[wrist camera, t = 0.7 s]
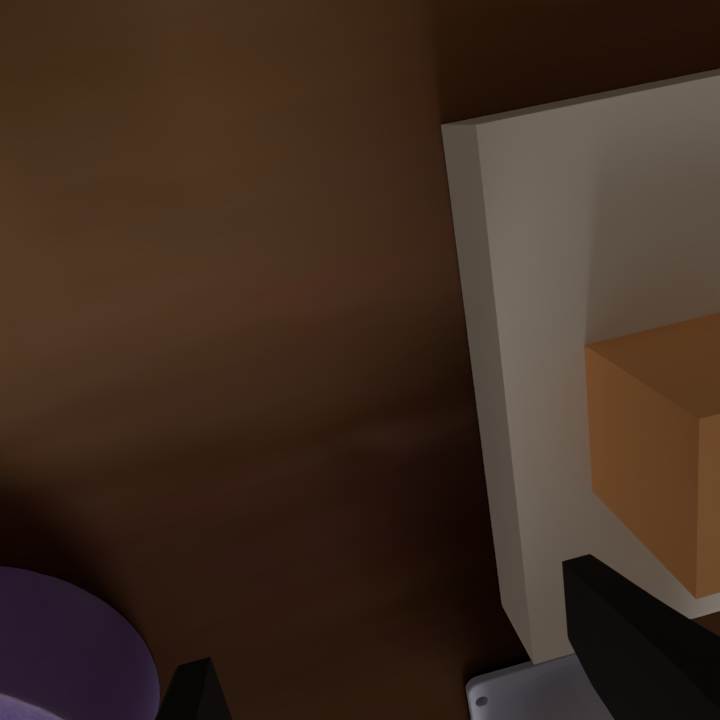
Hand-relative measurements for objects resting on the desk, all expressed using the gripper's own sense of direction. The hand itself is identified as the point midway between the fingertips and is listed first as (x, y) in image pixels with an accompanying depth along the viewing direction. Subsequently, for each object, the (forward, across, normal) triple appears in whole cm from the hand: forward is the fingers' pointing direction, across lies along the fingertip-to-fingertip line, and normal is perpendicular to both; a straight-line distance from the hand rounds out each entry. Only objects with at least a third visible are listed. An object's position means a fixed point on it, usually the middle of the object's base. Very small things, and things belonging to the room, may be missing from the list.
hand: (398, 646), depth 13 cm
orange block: (+6, -10, 0) cm, 12 cm away
